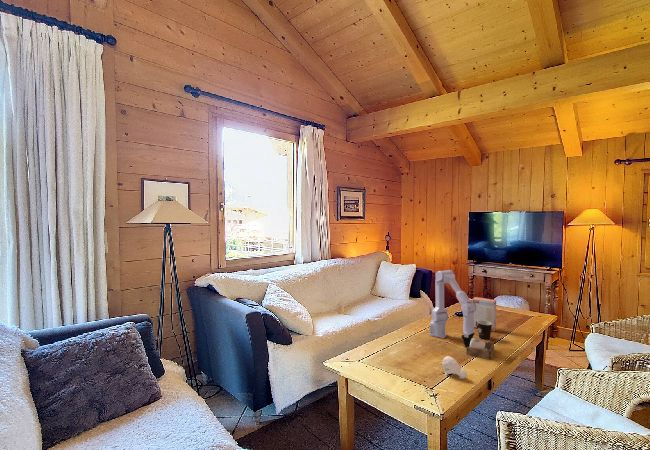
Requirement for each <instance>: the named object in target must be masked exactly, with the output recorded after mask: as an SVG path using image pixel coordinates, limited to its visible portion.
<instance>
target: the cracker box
mask: <svg viewBox="0 0 650 450" xmlns="http://www.w3.org/2000/svg"><path fill="white" fill-rule="evenodd" d="M472 302H474V303H475V305H476V311H475V312H474V329H478V328H477V326H478V324H477V326H476V322H477V321H488V322H491V323H492V328H491V333H494V332H495V331H497V299H491V298H485V297H478V296H474V297H473V298H472Z"/></svg>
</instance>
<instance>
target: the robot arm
mask: <svg viewBox="0 0 650 450" xmlns="http://www.w3.org/2000/svg"><path fill="white" fill-rule="evenodd" d="M445 284H449V285H450V287H451V289H452V290H453V291H454V292H455V297H456V299H457V300H458V302H459V304H460V305H461V306H460V308H461V309H460V310H461V312H462V315H463V317H462V318H463V320H462V321H463V323H462V324H463V325H462V326H463V327H462V331H463V334H462V335H461V339H462V340H463V344H464V348H465V349H467V347H470V342H471V339H472V338H474V336H475V334H476V333H477V330H475V328H474V312H475V311H476V305H475V303H474V302H473V300H470V298H469V296H468V294H467V292H465V291H463V290H462V289H461V287H460V286H459V284H458V282H457V280H456V274H455V273H454V271H453V270H452V269H447V270H438V271H437V272H435V284H434V285H435V286H434V287H435V289H434V290H435V307H434V308H432V309H431V314H430V315H431V317H430V319H431V321H430V323H429V336H430V337H436V338H442V339H445V338H446V337H447V336H448V333H446V323H447V321H448V320H449V314H448V309H447V308H445Z"/></svg>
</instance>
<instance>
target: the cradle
mask: <svg viewBox="0 0 650 450" xmlns="http://www.w3.org/2000/svg"><path fill="white" fill-rule="evenodd" d="M465 349H466V353H465V354H466V355H469V356H472V357H478V358H482V359H487V360H492V358H493V355H494V352H495V343H494V342H492V341H491V340H487V341H485V350H481V349H476V348H471V347H467V348H465Z"/></svg>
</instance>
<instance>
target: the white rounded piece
mask: <svg viewBox="0 0 650 450" xmlns="http://www.w3.org/2000/svg"><path fill="white" fill-rule="evenodd" d="M441 365H442V368H443V372H444V374H445V376H448V375H451V374H453V375H457V376H458V377H459V379H460V380H461V379H462V380H465V378H467V377H468V373H467V371H466V370H465V369H463V368H461V366H460V364H459V363H458V361H457V360H456V359H455V358H454V357H451V356H449V355H447V356H445V357H444V358H443V359H442V363H441Z"/></svg>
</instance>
